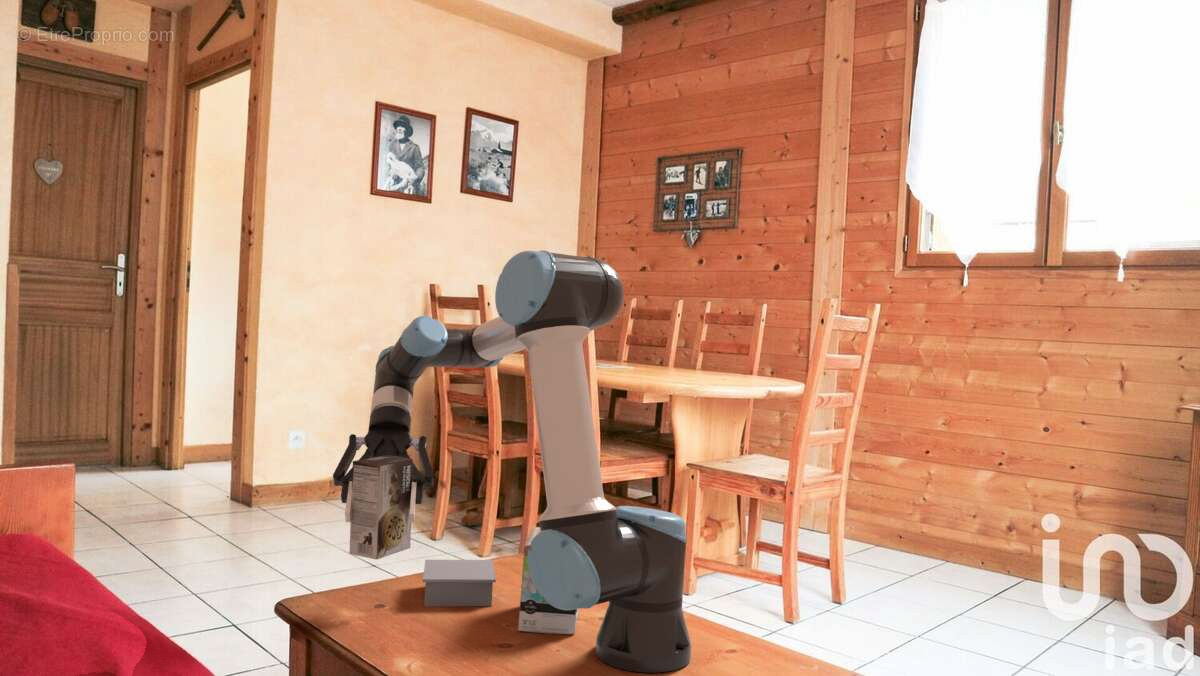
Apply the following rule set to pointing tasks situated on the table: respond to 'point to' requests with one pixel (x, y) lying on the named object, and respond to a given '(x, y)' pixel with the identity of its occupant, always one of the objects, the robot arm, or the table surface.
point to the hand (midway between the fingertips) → (380, 518)
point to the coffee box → (380, 506)
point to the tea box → (541, 604)
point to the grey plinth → (458, 582)
